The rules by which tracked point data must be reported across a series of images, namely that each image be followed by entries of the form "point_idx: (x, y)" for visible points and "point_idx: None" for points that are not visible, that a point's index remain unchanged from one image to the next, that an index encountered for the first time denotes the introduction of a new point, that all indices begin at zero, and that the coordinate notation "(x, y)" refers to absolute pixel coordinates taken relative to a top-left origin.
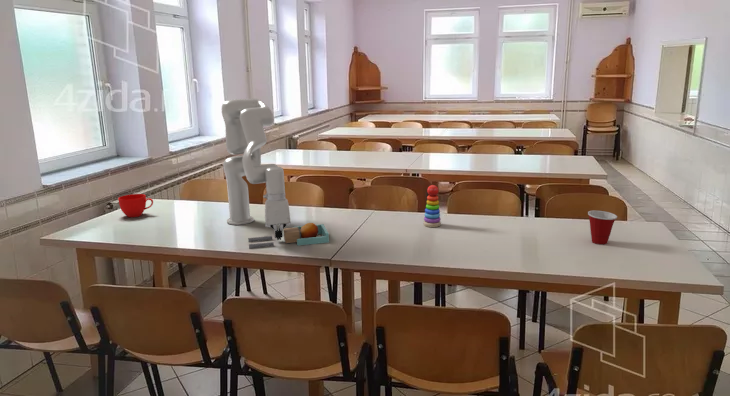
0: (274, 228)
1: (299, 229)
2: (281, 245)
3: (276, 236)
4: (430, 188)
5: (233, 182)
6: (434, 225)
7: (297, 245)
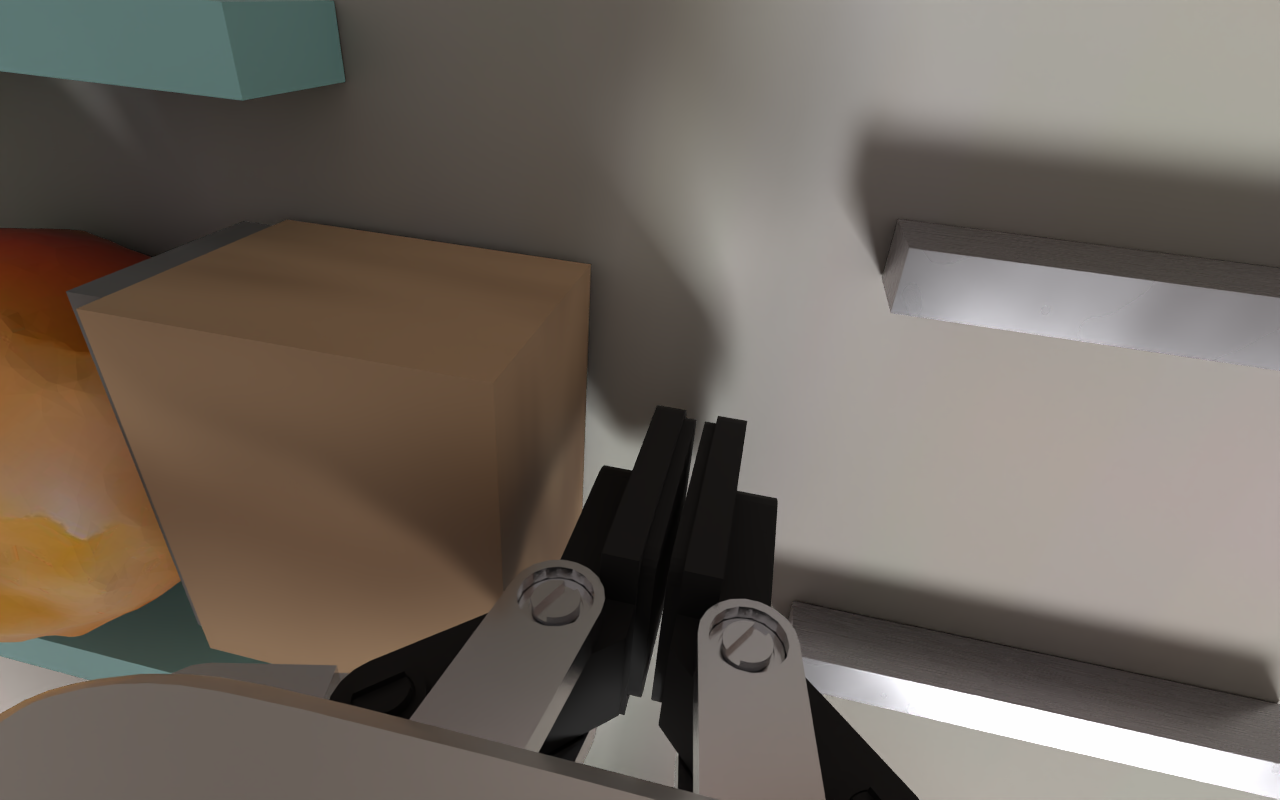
0: (785, 691)
1: (164, 535)
2: (705, 190)
3: (747, 503)
4: None
5: None
6: None
7: (333, 3)
